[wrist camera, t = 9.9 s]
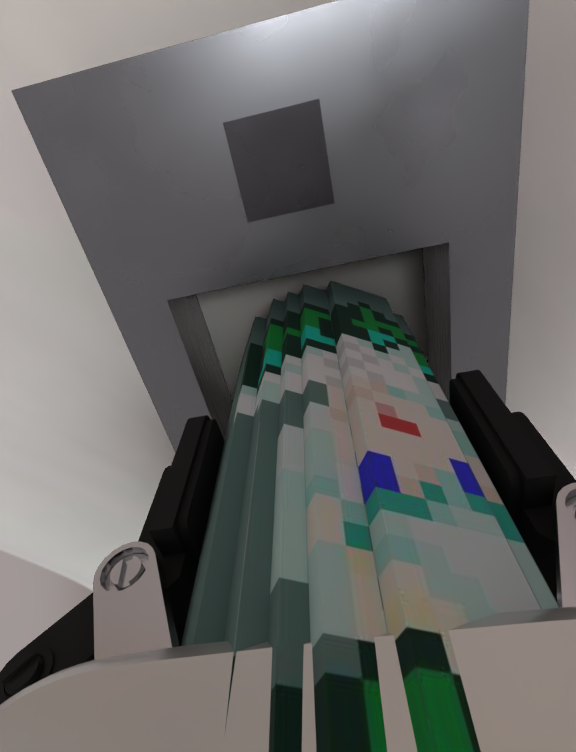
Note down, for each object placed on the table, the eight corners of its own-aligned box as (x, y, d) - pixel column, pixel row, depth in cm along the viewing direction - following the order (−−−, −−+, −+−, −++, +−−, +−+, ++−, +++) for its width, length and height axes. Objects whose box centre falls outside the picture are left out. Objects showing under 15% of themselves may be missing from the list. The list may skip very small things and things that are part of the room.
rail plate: (478, -15, 11) (535, -56, 9) (472, 500, 22) (497, 554, 19) (67, 96, 13) (9, 90, 10) (241, 532, 23) (235, 586, 20)
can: (438, 315, 15) (1318, 1530, 2) (368, 443, 18) (555, 1259, 5) (272, 261, 14) (42, 1821, 1) (228, 405, 17) (29, 1286, 4)
